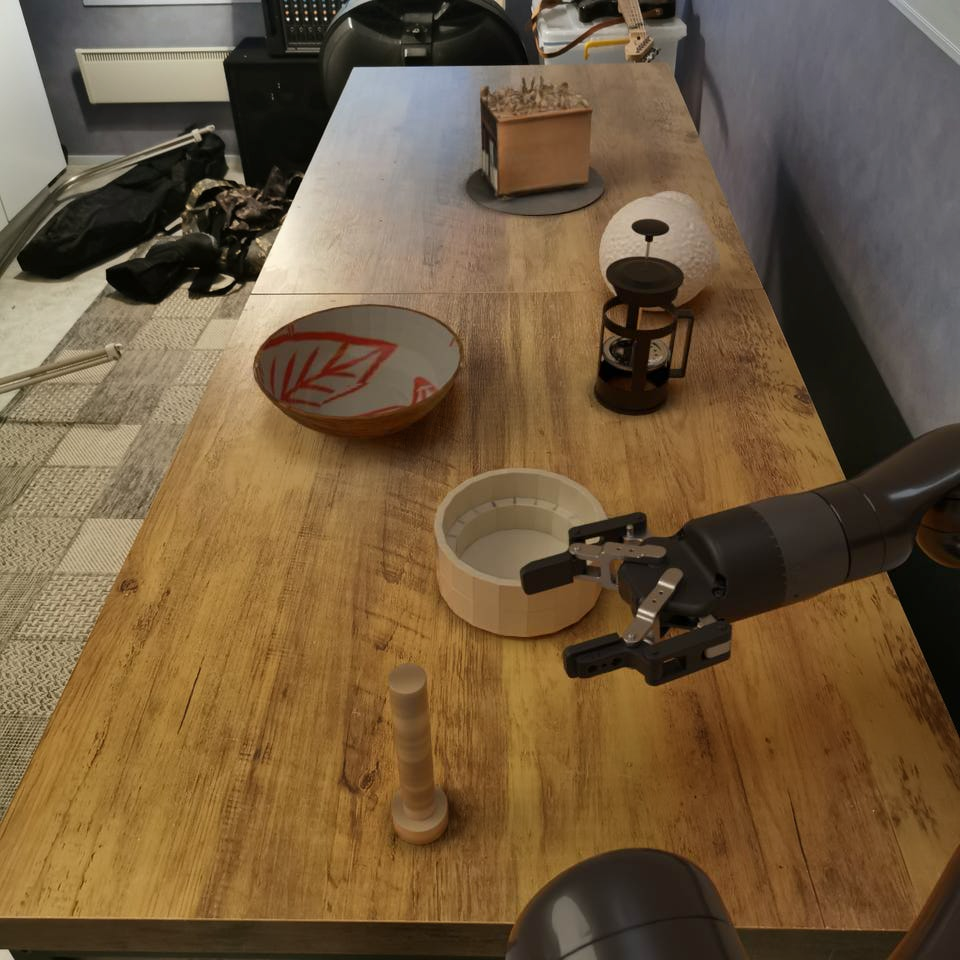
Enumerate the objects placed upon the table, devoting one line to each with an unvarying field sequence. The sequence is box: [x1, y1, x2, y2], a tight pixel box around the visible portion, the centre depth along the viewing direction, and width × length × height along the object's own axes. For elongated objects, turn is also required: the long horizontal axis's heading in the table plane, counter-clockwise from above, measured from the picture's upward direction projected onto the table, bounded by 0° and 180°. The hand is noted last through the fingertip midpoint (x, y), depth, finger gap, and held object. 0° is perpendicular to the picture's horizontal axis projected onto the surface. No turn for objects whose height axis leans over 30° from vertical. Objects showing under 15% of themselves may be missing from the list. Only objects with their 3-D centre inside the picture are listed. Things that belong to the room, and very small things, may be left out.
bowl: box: [252, 303, 465, 440], centre depth 113 cm, size 25×25×8 cm
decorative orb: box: [598, 190, 721, 312], centre depth 131 cm, size 20×18×16 cm
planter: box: [465, 74, 605, 216], centre depth 162 cm, size 25×25×19 cm
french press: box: [593, 219, 695, 416], centre depth 110 cm, size 12×9×23 cm
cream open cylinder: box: [433, 467, 608, 638], centre depth 91 cm, size 17×17×8 cm
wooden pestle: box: [387, 662, 449, 846], centre depth 68 cm, size 4×4×18 cm
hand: (542, 620), depth 62 cm, fingers open, 8 cm apart
